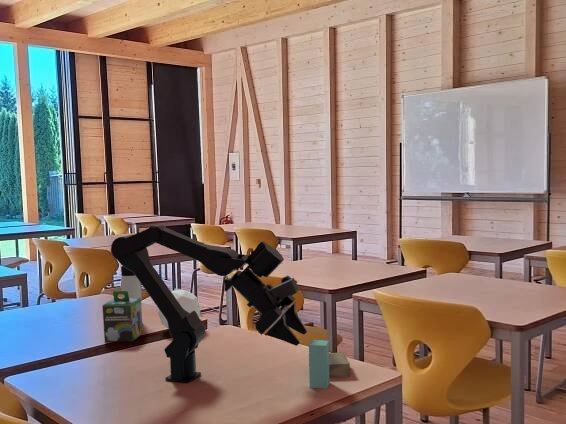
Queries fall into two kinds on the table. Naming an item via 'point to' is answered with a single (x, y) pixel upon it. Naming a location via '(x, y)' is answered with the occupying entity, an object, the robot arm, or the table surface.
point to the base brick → (338, 365)
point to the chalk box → (122, 318)
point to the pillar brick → (319, 364)
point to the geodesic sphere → (183, 303)
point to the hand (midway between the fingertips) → (302, 338)
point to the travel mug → (130, 284)
